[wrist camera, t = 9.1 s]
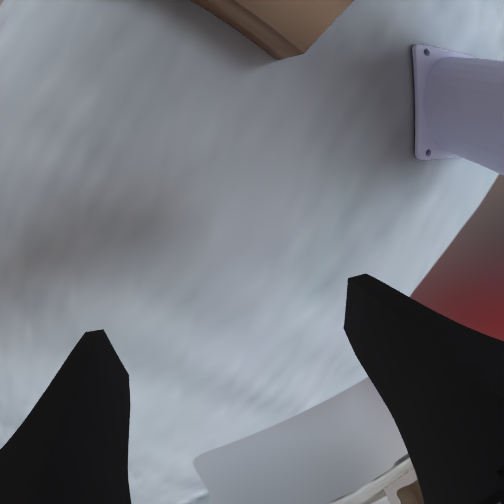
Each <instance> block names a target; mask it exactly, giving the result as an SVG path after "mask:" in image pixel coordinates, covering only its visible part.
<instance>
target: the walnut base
mask: <svg viewBox="0 0 504 504" xmlns="http://www.w3.org/2000/svg"><path fill="white" fill-rule="evenodd" d="M192 1H193V2H195V3H197V4H198V5H200V6H201V7H203V8H205V9H206V10H208V11H209V12H211V13H212V14H214V15H215V16H217V17H219V18H220V19H222V20H223V21H224V22H226V23H227V24H229V25H230V26H232V27H233V28H235V29H236V30H238V31H239V32H240V33H242V34H243V35H245V36H246V37H247V38H249V39H250V40H251V41H253V42H254V43H255V44H257V45H258V46H259V47H261V48H262V49H263V50H265V51H266V52H267V53H268V54H270V55H271V56H272V57H274V58H275V59H276V60H281V59H285V58H288V57H292V56H296V55H300V54H304V53H305V52H306V51H307V49H308V48H309V47H310V46H311V45H312V44H313V43H314V42H315V41H316V40H317V39H318V37H319V36H320V35H321V34H322V33H323V32H324V31H325V30H326V29H327V28H328V27H329V26H330V25H331V24H332V23H333V22H334V20H335V19H336V18H337V17H338V16H339V15H340V14H341V13H342V12H343V11H344V10H345V9H346V8H347V7H348V6H349V5H350V4H351V3H352V2H353V1H354V0H192Z"/></svg>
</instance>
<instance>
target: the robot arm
mask: <svg viewBox="0 0 504 504" xmlns="http://www.w3.org/2000/svg"><path fill="white" fill-rule="evenodd" d="M424 50H425V51H426V55H425V54H424ZM412 53H413V66H414V83H415V156H416V158H418V159H420V160H432V159H447V158H466V159H468V160H470V161H473V162H475V163H477V164H480V165H482V166H484V167H486V168H489V169H491V170H493V171H495V172H497V173H500V174H502V175H504V61H497V60H488V59H480V58H476V57H473V56H469V55H466V54H462V53H458V52H454V51H450V50H446V49H441V48H437V47H432V46H427V45H422V44H415V45H414V46H413V48H412ZM427 150H428V152H427V154H426V151H427ZM344 330H345V332H346V335H347V337H348V339H349V342H350V344H351V346H352V348H353V350H354V352H355V355H356V356H357V358H358V360H359V361H360V363H361V365H362V366H363V368H364V370H365V371H366V373H367V375H368V376H369V378H370V379H371V381H372V383H373V384H374V386H375V387H376V389H377V391H378V392H379V394H380V396H381V397H382V399H383V401H384V402H385V404H386V405H387V407H388V409H389V411H390V412H391V414H392V416H393V418H394V420H395V422H396V425H397V427H398V429H399V432H400V434H401V436H402V438H403V441H404V443H405V446H406V448H407V451H408V453H409V456H410V459H411V461H412V464H413V467H414V470H415V473H416V476H417V479H418V482H419V485H420V488H421V492H422V496H423V500H424V504H504V341H501V340H498V339H496V338H493V337H490V336H487V335H485V334H482V333H480V332H478V331H475V330H473V329H470V328H468V327H466V326H463V325H461V324H459V323H457V322H455V321H453V320H451V319H449V318H447V317H445V316H443V315H441V314H439V313H437V312H435V311H433V310H431V309H429V308H428V307H426V306H424V305H422V304H420V303H419V302H417V301H415V300H413V299H411V298H410V297H408V296H406V295H404V294H403V293H401V292H399V291H397V290H396V289H394V288H392V287H390V286H389V285H387V284H385V283H383V282H381V281H380V280H378V279H376V278H374V277H372V276H370V275H368V274H362V275H358V276H355V277H351V278H348V286H347V299H346V311H345V322H344ZM129 420H130V388H129V374H128V373H127V371H126V369H125V368H124V366H123V364H122V362H121V361H120V359H119V357H118V355H117V354H116V352H115V350H114V348H113V346H112V344H111V343H110V341H109V339H108V337H107V335H106V333H105V331H104V329H103V330H97V331H90V332H85V334H84V335H83V336H82V338H81V339H80V340H79V342H78V343H77V344H76V346H75V347H74V349H73V350H72V352H71V353H70V355H69V356H68V358H67V359H66V361H65V362H64V364H63V365H62V367H61V368H60V370H59V371H58V373H57V374H56V376H55V377H54V379H53V380H52V382H51V383H50V385H49V386H48V388H47V389H46V391H45V392H44V393H43V395H42V396H41V398H40V399H39V401H38V402H37V403H36V405H35V406H34V408H33V409H32V411H31V412H30V414H29V415H28V416H27V418H26V419H25V420H24V422H23V423H22V424H21V426H20V427H19V428H18V429H17V431H16V432H15V433H14V434H13V436H12V437H11V438H10V439H9V440H8V442H7V443H6V444H5V445H4V446H3V447H2V448H1V449H0V504H131V498H130V491H129V483H128V441H129Z"/></svg>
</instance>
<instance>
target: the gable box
mask: <svg viewBox="0 0 504 504" xmlns="http://www.w3.org/2000/svg"><path fill="white" fill-rule="evenodd" d="M384 491H385V493H386V496H387V498H388V500H389V502H390V504H424V500H423V496H422V492H421V488H420V485H419V482H418V479H417V476H416V473H415V470H414V468H413V469H411V470H410V471H409V472H407V473H406V474H404V475H403V476H402V477H400V478H399V479H397V480H396V481H394V482H393V483H391V484H390V485H388V486H387V487H385V488H384Z"/></svg>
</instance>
